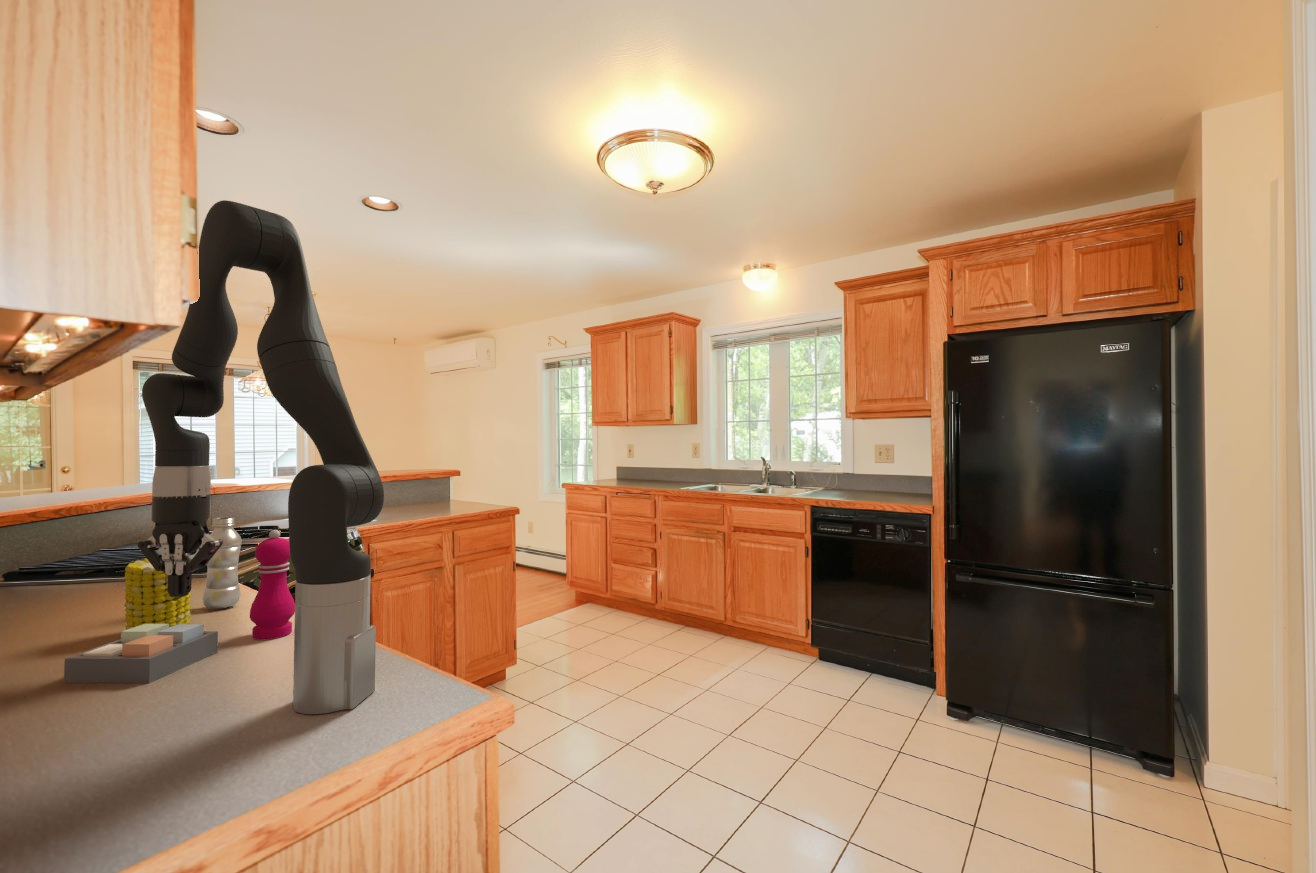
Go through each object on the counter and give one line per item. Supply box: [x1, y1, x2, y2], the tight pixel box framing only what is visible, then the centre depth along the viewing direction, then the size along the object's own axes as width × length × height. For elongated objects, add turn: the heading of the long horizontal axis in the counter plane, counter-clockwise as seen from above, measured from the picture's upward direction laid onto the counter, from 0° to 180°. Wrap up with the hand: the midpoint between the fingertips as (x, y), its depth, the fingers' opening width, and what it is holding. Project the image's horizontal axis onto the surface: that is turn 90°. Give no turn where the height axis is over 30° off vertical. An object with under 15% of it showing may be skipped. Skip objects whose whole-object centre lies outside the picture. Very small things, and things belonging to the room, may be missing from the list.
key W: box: [120, 624, 169, 643], centre depth 94 cm, size 4×4×3 cm
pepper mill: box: [249, 529, 295, 641], centre depth 107 cm, size 7×7×20 cm
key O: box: [157, 623, 205, 643], centre depth 94 cm, size 4×4×3 cm
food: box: [123, 558, 192, 630], centre depth 108 cm, size 15×12×10 cm
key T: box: [122, 635, 173, 656], centre depth 88 cm, size 4×4×3 cm
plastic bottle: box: [202, 517, 243, 610], centre depth 126 cm, size 6×7×20 cm
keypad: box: [63, 630, 219, 684], centre depth 91 cm, size 13×13×4 cm
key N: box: [83, 644, 122, 656], centre depth 88 cm, size 4×4×3 cm
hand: (179, 596), depth 94 cm, fingers closed
